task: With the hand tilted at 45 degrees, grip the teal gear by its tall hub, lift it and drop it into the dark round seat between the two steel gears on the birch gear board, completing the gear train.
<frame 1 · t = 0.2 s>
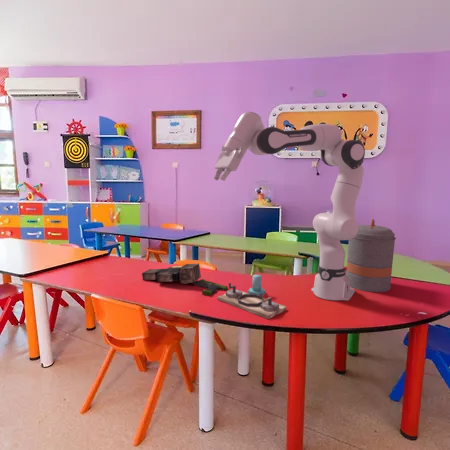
hand: (218, 179, 130), 54 cm above the table, tool tilted 30°, fingers open, 8 cm apart
teal gear: (256, 293, 156), on the table
gear board: (250, 304, 142), on the table
storage container: (367, 285, 171), on the table
toy: (171, 281, 173), on the table
gun: (205, 289, 162), on the table
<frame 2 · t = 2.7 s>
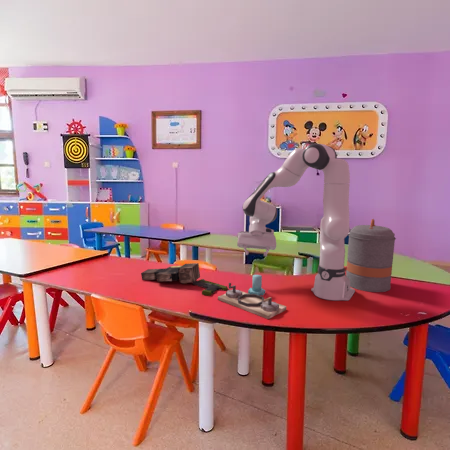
hand: (256, 255, 165), 16 cm above the table, tool tilted 45°, fingers open, 8 cm apart
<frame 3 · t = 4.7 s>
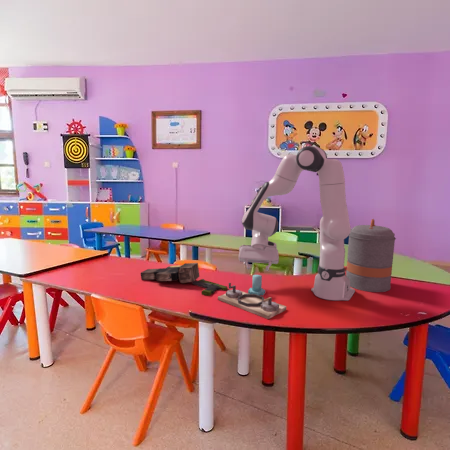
hand: (257, 269, 160), 10 cm above the table, tool tilted 45°, fingers open, 8 cm apart
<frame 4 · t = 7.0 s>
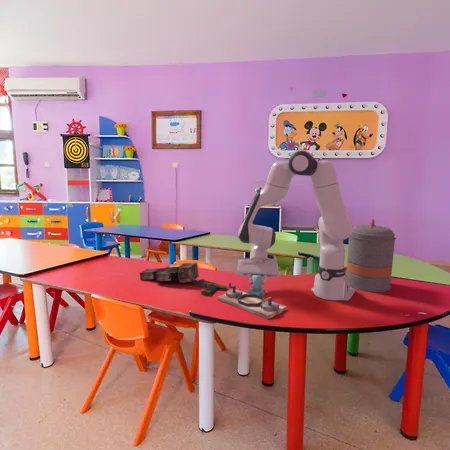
hand: (256, 283, 155), 5 cm above the table, tool tilted 45°, fingers closed on teal gear, 4 cm apart
teal gear: (256, 293, 156), on the table, touching gripper
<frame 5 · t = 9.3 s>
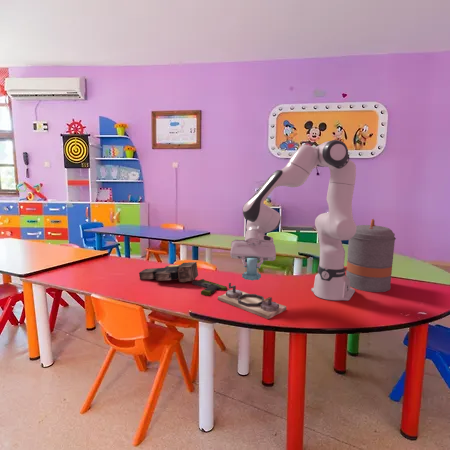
hand: (251, 267, 141), 17 cm above the table, tool tilted 45°, fingers closed on teal gear, 4 cm apart
teal gear: (251, 277, 142), point 12 cm above the table, touching gripper
when the fingers open (7 cm above the table, at t = 12.0 s): teal gear stays where it is, resting on gear board.
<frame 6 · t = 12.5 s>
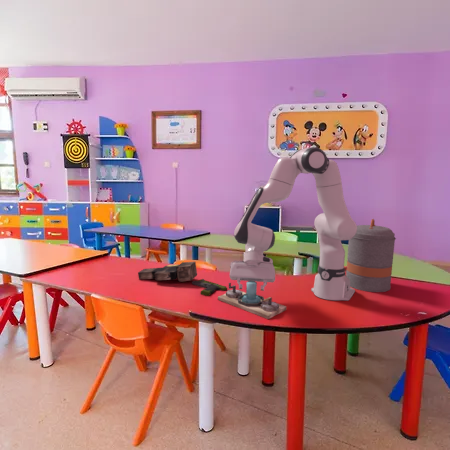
hand: (251, 289, 140), 7 cm above the table, tool tilted 45°, fingers open, 8 cm apart
teal gear: (251, 301, 142), point 1 cm above the table, touching gear board
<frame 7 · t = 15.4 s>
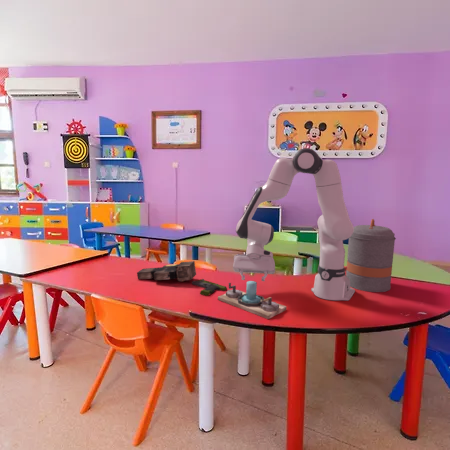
hand: (253, 280, 153), 7 cm above the table, tool tilted 45°, fingers open, 8 cm apart
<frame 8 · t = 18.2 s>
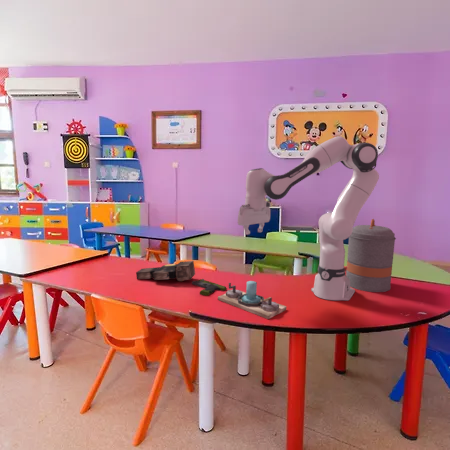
hand: (253, 233, 152), 29 cm above the table, tool pointing down, fingers open, 8 cm apart
at the end: teal gear 0.1 cm off-centre on the gear board, point 1.5 cm above the gear board's base; teal gear tilted 0°; the gripper is holding nothing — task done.
